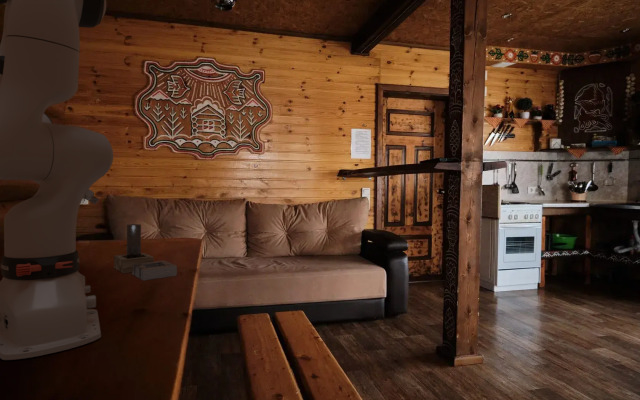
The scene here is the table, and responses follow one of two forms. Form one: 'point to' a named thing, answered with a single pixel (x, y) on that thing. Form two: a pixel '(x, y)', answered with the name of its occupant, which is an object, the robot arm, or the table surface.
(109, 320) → the table surface
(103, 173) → the robot arm
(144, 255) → the rack
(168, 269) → the socket
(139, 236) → the dark rounded handle
